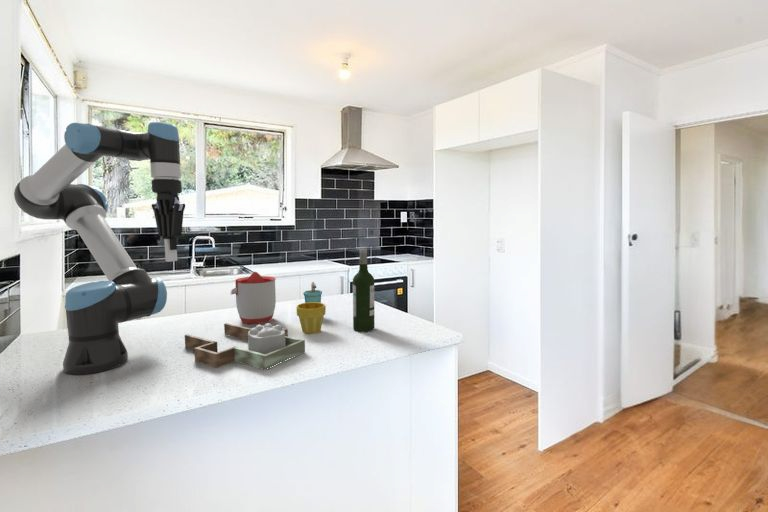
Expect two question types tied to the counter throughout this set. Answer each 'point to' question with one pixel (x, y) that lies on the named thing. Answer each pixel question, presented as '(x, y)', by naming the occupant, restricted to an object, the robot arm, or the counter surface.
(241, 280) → the citrus juicer
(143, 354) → the counter surface
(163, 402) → the counter surface
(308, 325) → the plant pot
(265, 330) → the lumpy-topped squat cylinder
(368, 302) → the wine bottle
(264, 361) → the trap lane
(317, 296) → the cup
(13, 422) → the counter surface
